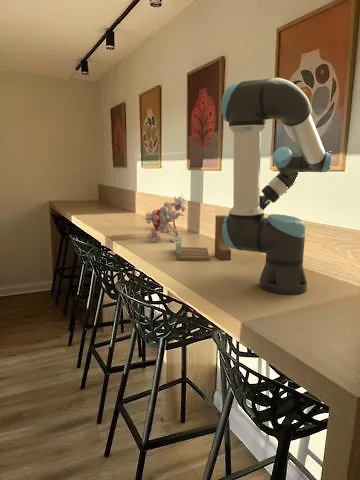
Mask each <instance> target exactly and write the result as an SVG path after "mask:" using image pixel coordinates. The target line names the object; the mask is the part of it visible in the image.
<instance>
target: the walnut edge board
mask: <svg viewBox="0 0 360 480" xmlns="http://www.w3.org/2000/svg"><path fill="white" fill-rule="evenodd" d="M175 242H176V243H175V261H179V262H210V254H209V250H208V247H195V246H192V247H190V246H188V247H187V246H182V236H180V237H177V240H176V241H175Z"/></svg>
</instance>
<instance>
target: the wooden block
mask: <svg viewBox="0 0 360 480" xmlns="http://www.w3.org/2000/svg"><path fill="white" fill-rule="evenodd" d="M226 216H227V215H226V214H222V215H219V214H218V215H215V224H214V225H215V227H214V231H215V232H214V257H216V258H218V260H220V261H230V260H231V259H232V248H230V247H229V246H228V245H227V244H226V243H225V241H224V239H223V235H222V224H224V223H223V221H224V219H225V217H226Z"/></svg>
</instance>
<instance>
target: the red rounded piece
mask: <svg viewBox="0 0 360 480" xmlns="http://www.w3.org/2000/svg"><path fill="white" fill-rule="evenodd" d="M157 211H158V212H157V213H156V215H157V216H159V217H160V215H159V214H160V208H159V209H157ZM160 222H161V220H160V218H159V219H158V220H157V222H156V223H158V224H157V225H154V224H153V222H152V221H151V223H152V225H153V229H155V230H156V231H159V230H158V227H159V225H160V224H161V223H160ZM162 222H163V221H162Z"/></svg>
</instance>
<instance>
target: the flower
mask: <svg viewBox="0 0 360 480" xmlns="http://www.w3.org/2000/svg"><path fill="white" fill-rule="evenodd" d="M173 199H174V200H173V201H174V202H171V199H170V200H169V201H165V202H164V203H163V206H161V207H160V208H159V209H160V214H159V215H160V217H159V216H157V215H156V213H157V212H158V211H157V210H158V209H157V210H156V209H154V210H153V211H152V212H150V211H146V214H145V217H142V219H144V220H145V222H146V223H147V224H150V223H152V222H153V223H152V225H153V224H154V225H157V224H158V223H156V222H157V220H158V219H159V218H160V220H161V222H160V223H161V224H160V225H159V227H158V230H157V229H155V228H151V229H150V233H149V232H148V233H147V234H146V241H147V240H148V241H149V242H150V243H154V242H155V241H158V242H159V241H161V236H160V235H158V234H166V235H170V236H171V238H170V239H169V241H171V242H174V244H176V242H177V237H181V236H180V235H179V234H178V231H177V228H176V221H175V220H179V219H178V218H179V217H180V216H181V217H182V216H183V217H185V214H184V213H183V212H185V211H186V207H185V205H184V204H186V199H185V197H183V194H181V196H178V197H177V196H175V197H173ZM173 209H174V210H173ZM180 210H181V212H180ZM162 221H163V222H162ZM170 223H172V224H173V226H171V224H170ZM158 231H159V232H158ZM157 232H158V233H157ZM171 232H172V233H171ZM173 233H174V234H173Z"/></svg>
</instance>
